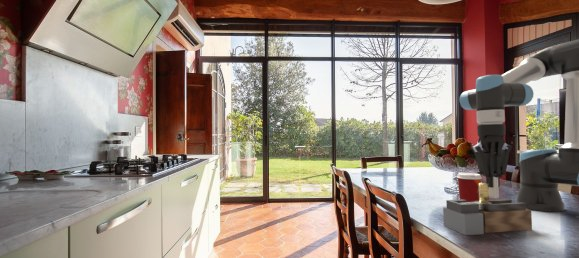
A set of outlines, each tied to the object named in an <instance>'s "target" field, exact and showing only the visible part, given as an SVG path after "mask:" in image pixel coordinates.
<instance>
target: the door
mask: <svg viewBox="0 0 579 258" xmlns="http://www.w3.org/2000/svg"><path fill="white" fill-rule="evenodd" d="M473 202H479V201H473ZM489 203H492V204H485V210H479V213H482V214H483V228H484V234H487V233H489V234H490V233H502V232H515V231H518V232H519V231H531V230H533V219H532V218H533V217H532V209H526V203H522V202H521V203H516V202H513V200H512V199H505V198H504V199H489Z"/></svg>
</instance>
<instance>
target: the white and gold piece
mask: <svg viewBox="0 0 579 258" xmlns="http://www.w3.org/2000/svg"><path fill="white" fill-rule="evenodd" d="M489 200H490V197H489V191H488V184H487V183H486V182H481V183H479V202H461V204H462V203H477V204H479V210H485V204H492V203H489Z"/></svg>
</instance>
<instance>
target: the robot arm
mask: <svg viewBox="0 0 579 258" xmlns="http://www.w3.org/2000/svg"><path fill="white" fill-rule="evenodd" d="M556 75H558V76H559V75H561V78H563V79H564V80H566V83H565V85H566V87H565V88H566V90H565V112H564V113H565V115H564V116H565V117H564V119H565V120H564V141H563V142H564V144H562V145H561V146H559V147H558V151H557V149H555V148H552V149H551V148H549V149H547V148H546V149H535V150H534V149H533V150H524V151H522V152H520V154H519V161H518V163H519V172H520V173H519V175H520V179H519V180H520V187H519V191H518V193H517V197H516V198H515V203H521V202H522V203H526V209H528V210H531V211H532V210H533V211H539V212H540V211H541V212H552V213H554V212H555V213H556V212H564V211H565V210H566V206H565V202H564V201H563V198H562V195H561V193H560V190H559V185H568V186H574V187H579V38H578V39H575V40H571V41H567V42H564V43H563V42H562V43H559V44H554V45H551V46H549V47H546V48H544V49H542V50H540V51H538V52H536V53H534V54H531V56H528V57H527V58H525V59H523V60H522V61H520V63H519V65H517V66H516V67H513V68H512V69H510V70H508V71H506V72H505V73H502V74H487V75H483V76H480V77H478V78H476V80H475V89H474V88H473V89H469V90H465V91H463V92H462V93H461V94H460V96H459V103H460V107H461V108H462V109H464V110H466V111H476V123H477V124H478V125H476V131H477V133H476V134H477V136H478V140H477V144H475V145H471V147H470V149H471V150H472V152H473V153H474V156H475V161H476V164H477V168H478V172H479V174H480V175H481V176H484V177H485V179H486V180H485V183H487V184H488V191H489V198H492V199H499V197H500V195H499V193H500V192H499V188H500V187H501V184H500V183H501V179H500V178H503V177H504V176H506V173H507V168H508V162H509V157H510V153H511V150H512V149H513V145H511V144H507V143H506V140H505V138H504V137H505V135H506V125H505V124H504V123H505V121H506V117H505V116H506V115H505V107H523V106H526V105H528V104H530V103H531V102H532V100H533V98H534V94H535V93H534V90H533V88H532V87H531V86H530V85H529V84H528V83H529V82H533V81H534V82H535V81H538V80H540V79H542V78H546V77H551V76H556Z"/></svg>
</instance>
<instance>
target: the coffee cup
mask: <svg viewBox="0 0 579 258" xmlns="http://www.w3.org/2000/svg"><path fill="white" fill-rule="evenodd" d="M456 179H457V183H458V184H457V185H458V186H457V187H458V196H459V200H461V199H463V200H466V202H473V201H479V183H482V179H483V177H482V175H481V174H480V173H474V172H459V173H457V176H456Z"/></svg>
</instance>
